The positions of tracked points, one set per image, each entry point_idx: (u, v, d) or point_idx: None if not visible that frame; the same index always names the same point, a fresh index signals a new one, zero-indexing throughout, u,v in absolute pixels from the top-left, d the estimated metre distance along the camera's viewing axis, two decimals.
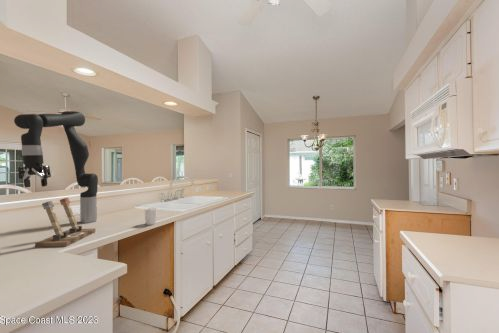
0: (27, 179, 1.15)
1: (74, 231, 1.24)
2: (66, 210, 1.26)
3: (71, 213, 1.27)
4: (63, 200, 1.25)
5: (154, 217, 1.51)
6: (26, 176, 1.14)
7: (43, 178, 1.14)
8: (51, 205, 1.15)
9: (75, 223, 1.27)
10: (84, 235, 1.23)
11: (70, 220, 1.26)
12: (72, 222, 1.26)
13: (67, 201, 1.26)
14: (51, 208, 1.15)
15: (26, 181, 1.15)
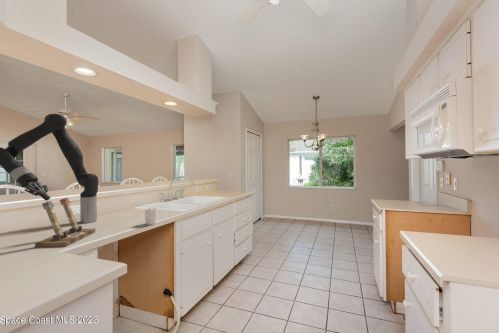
0: None
1: (74, 231, 1.24)
2: (66, 210, 1.26)
3: (71, 213, 1.27)
4: (63, 200, 1.25)
5: (154, 217, 1.51)
6: None
7: (39, 195, 1.24)
8: (51, 205, 1.15)
9: (75, 223, 1.27)
10: (84, 235, 1.23)
11: (70, 220, 1.26)
12: (72, 222, 1.26)
13: (67, 201, 1.26)
14: (51, 208, 1.15)
15: None
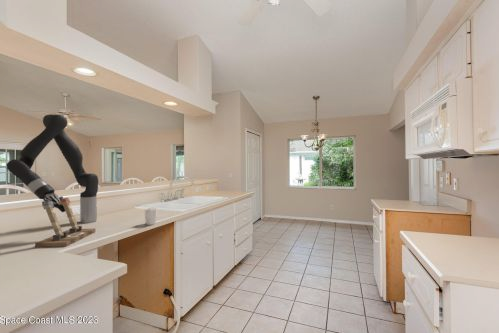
0: None
1: (74, 231, 1.24)
2: (66, 210, 1.26)
3: (71, 213, 1.27)
4: (63, 200, 1.25)
5: (154, 217, 1.51)
6: None
7: (56, 207, 1.25)
8: (51, 205, 1.15)
9: (75, 223, 1.27)
10: (84, 235, 1.23)
11: (70, 220, 1.26)
12: (72, 222, 1.26)
13: (67, 201, 1.26)
14: (51, 208, 1.15)
15: None
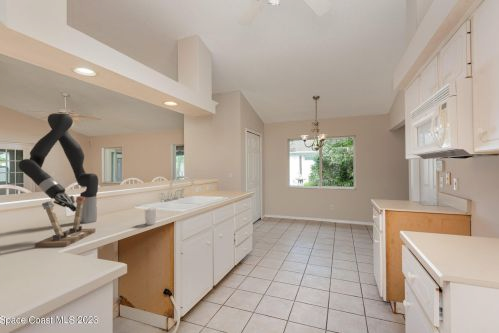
0: None
1: (74, 231, 1.24)
2: (77, 209, 1.26)
3: (80, 213, 1.27)
4: (79, 199, 1.26)
5: (154, 217, 1.51)
6: None
7: (67, 206, 1.25)
8: (51, 205, 1.15)
9: (78, 224, 1.27)
10: (84, 235, 1.23)
11: (75, 219, 1.26)
12: (76, 222, 1.26)
13: (82, 201, 1.27)
14: (51, 208, 1.15)
15: None
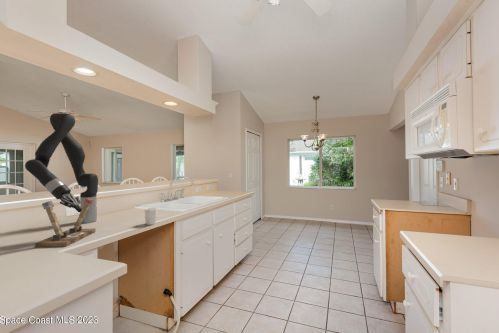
0: None
1: (74, 231, 1.24)
2: (82, 210, 1.26)
3: (84, 214, 1.27)
4: (88, 201, 1.26)
5: (154, 217, 1.51)
6: None
7: (73, 207, 1.25)
8: (51, 205, 1.15)
9: (79, 224, 1.27)
10: (84, 235, 1.23)
11: (78, 220, 1.26)
12: (78, 222, 1.26)
13: (90, 203, 1.27)
14: (51, 208, 1.15)
15: None
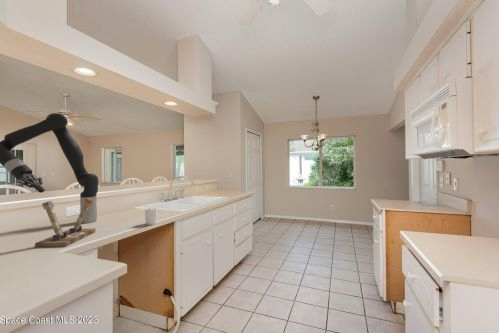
0: None
1: (74, 231, 1.24)
2: (83, 210, 1.26)
3: (84, 214, 1.27)
4: (88, 201, 1.26)
5: (154, 217, 1.51)
6: None
7: (34, 187, 1.24)
8: (51, 205, 1.15)
9: (79, 224, 1.27)
10: (84, 235, 1.23)
11: (78, 220, 1.26)
12: (78, 222, 1.26)
13: (90, 203, 1.27)
14: (51, 208, 1.15)
15: None
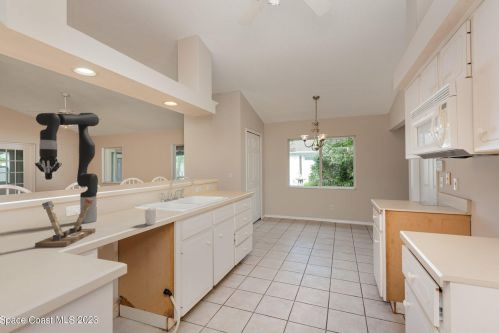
0: None
1: (74, 231, 1.24)
2: (83, 210, 1.26)
3: (84, 214, 1.27)
4: (88, 201, 1.26)
5: (154, 217, 1.51)
6: (46, 168, 1.27)
7: (49, 172, 1.28)
8: (51, 205, 1.15)
9: (79, 224, 1.27)
10: (84, 235, 1.23)
11: (78, 220, 1.26)
12: (78, 222, 1.26)
13: (90, 203, 1.27)
14: (51, 208, 1.15)
15: (47, 174, 1.28)
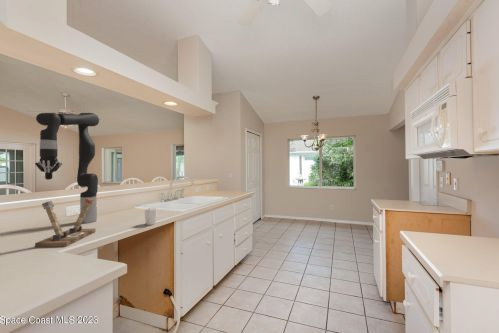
0: None
1: (74, 231, 1.24)
2: (83, 210, 1.26)
3: (84, 214, 1.27)
4: (88, 201, 1.26)
5: (154, 217, 1.51)
6: (46, 168, 1.27)
7: (49, 172, 1.28)
8: (51, 205, 1.15)
9: (79, 224, 1.27)
10: (84, 235, 1.23)
11: (78, 220, 1.26)
12: (78, 222, 1.26)
13: (90, 203, 1.27)
14: (51, 208, 1.15)
15: (47, 174, 1.28)
